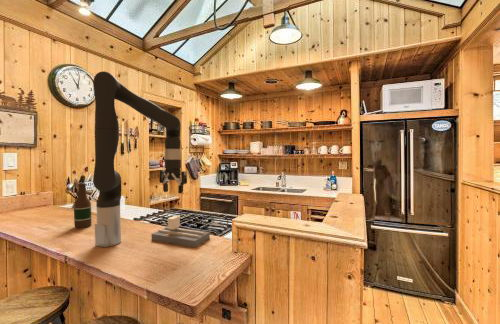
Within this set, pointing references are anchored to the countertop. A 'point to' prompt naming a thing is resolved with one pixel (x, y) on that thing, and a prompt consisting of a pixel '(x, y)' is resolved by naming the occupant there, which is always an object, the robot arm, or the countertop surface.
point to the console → (181, 236)
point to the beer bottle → (82, 208)
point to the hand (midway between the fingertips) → (173, 192)
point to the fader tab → (174, 223)
